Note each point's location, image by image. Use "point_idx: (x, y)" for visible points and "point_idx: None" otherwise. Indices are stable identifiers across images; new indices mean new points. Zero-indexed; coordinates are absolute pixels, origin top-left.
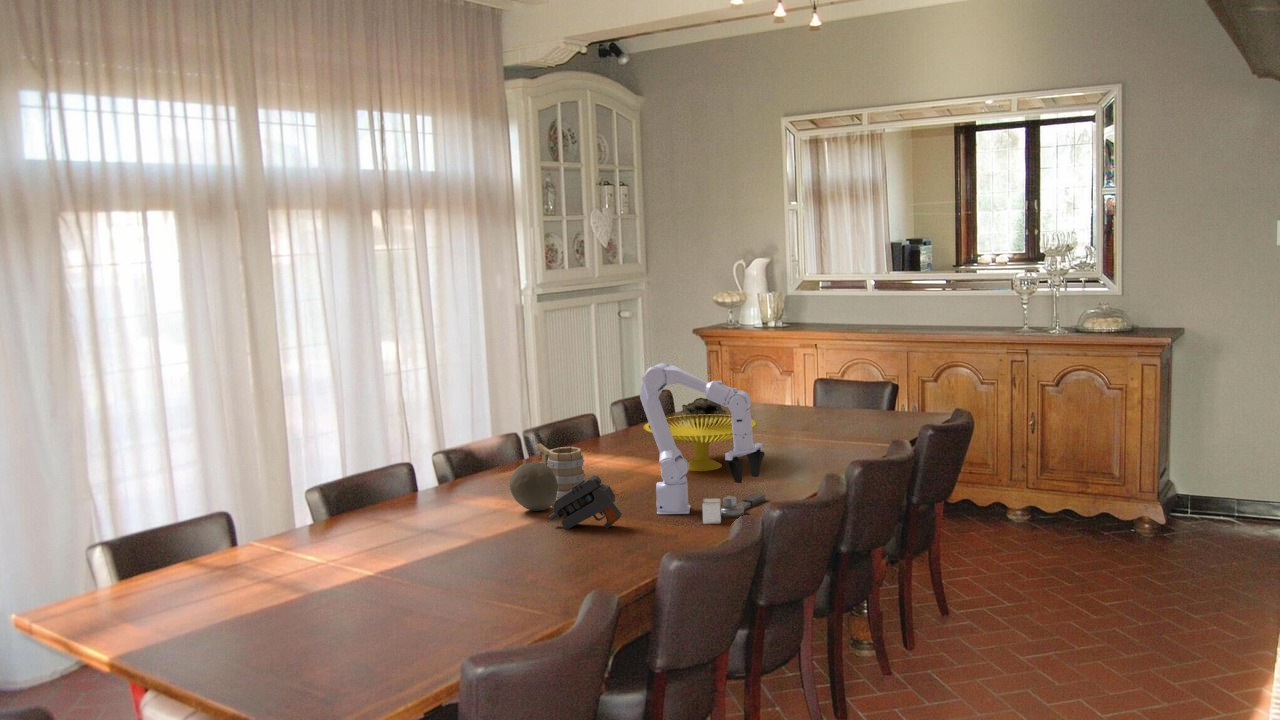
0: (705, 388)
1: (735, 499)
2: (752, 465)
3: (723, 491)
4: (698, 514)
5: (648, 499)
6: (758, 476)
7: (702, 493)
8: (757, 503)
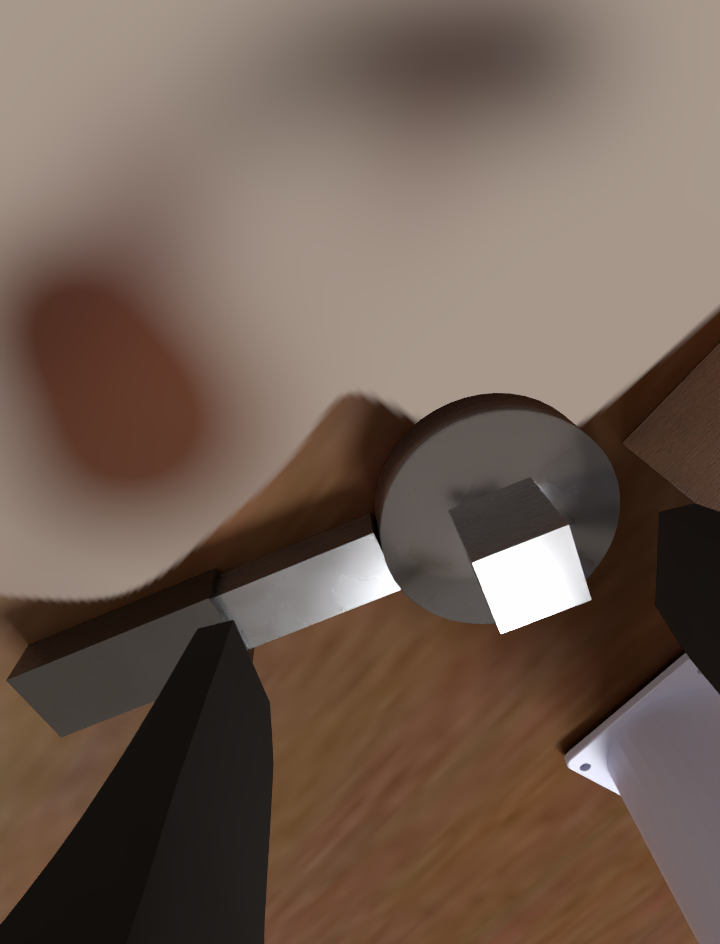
0: None
1: (483, 543)
2: (237, 904)
3: None
4: (646, 614)
5: (600, 935)
6: (197, 630)
7: (310, 912)
8: (137, 602)
